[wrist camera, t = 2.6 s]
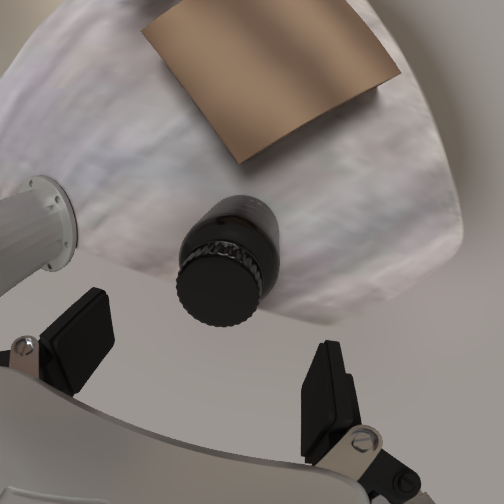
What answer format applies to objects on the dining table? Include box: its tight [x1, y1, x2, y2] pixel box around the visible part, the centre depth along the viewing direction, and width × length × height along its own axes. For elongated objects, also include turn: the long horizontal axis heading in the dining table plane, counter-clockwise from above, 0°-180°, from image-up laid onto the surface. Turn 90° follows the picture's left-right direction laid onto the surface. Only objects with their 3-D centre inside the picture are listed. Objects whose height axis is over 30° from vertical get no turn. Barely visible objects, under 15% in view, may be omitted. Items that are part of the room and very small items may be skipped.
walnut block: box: [141, 0, 401, 164], centre depth 17 cm, size 14×14×6 cm
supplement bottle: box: [176, 195, 280, 327], centre depth 20 cm, size 7×7×12 cm
